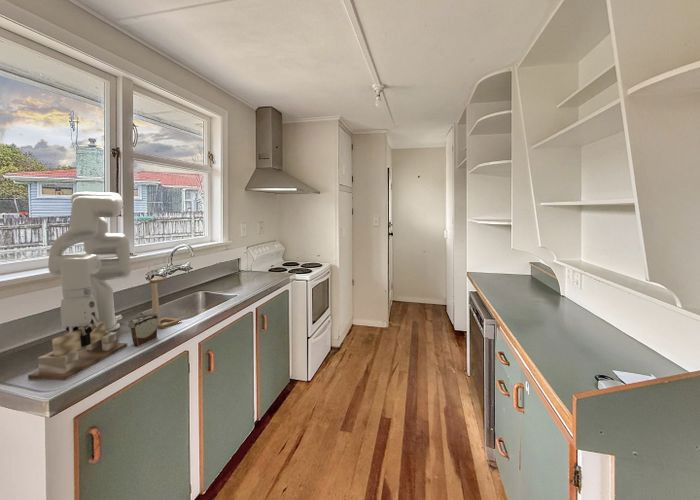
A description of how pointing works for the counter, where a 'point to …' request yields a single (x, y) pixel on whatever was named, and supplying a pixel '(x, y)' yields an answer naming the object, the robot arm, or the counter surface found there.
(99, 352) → the board
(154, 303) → the headphone stand
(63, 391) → the counter surface
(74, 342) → the slat
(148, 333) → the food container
